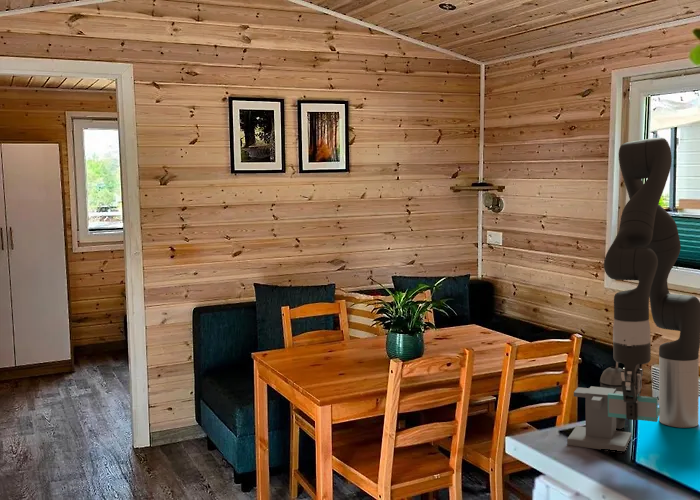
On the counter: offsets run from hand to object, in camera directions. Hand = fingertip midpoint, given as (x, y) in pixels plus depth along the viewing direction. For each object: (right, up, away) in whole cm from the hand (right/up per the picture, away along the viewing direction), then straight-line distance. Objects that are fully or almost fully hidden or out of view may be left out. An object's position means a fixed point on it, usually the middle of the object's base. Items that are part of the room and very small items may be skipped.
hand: (632, 417), depth 155 cm
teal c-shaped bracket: (+1, 0, +3) cm, 3 cm away
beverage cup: (+6, -9, +27) cm, 29 cm away
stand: (-1, -10, +16) cm, 19 cm away
